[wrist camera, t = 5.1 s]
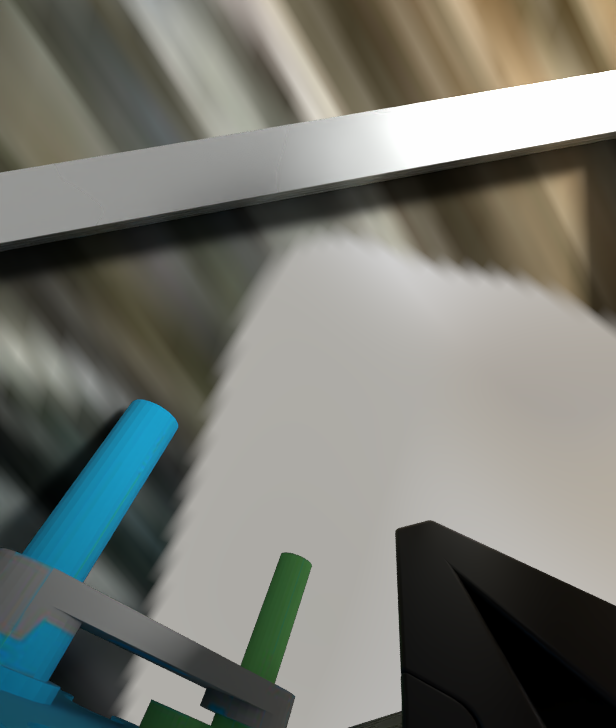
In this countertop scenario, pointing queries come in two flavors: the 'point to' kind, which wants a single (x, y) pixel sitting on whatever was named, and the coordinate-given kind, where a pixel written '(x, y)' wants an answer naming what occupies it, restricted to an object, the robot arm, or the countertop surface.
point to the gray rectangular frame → (301, 165)
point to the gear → (117, 621)
